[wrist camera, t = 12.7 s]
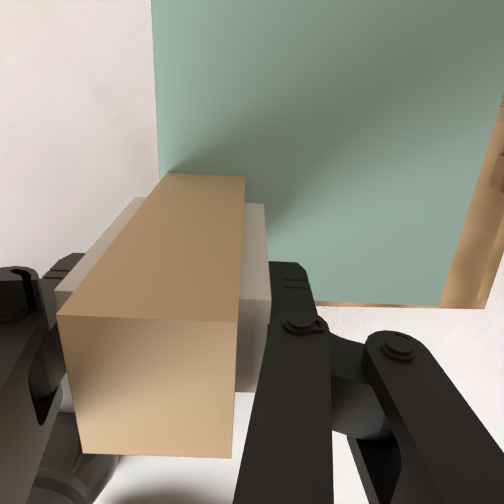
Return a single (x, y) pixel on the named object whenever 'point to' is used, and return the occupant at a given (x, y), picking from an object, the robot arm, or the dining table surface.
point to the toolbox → (472, 240)
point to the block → (498, 175)
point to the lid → (279, 193)
